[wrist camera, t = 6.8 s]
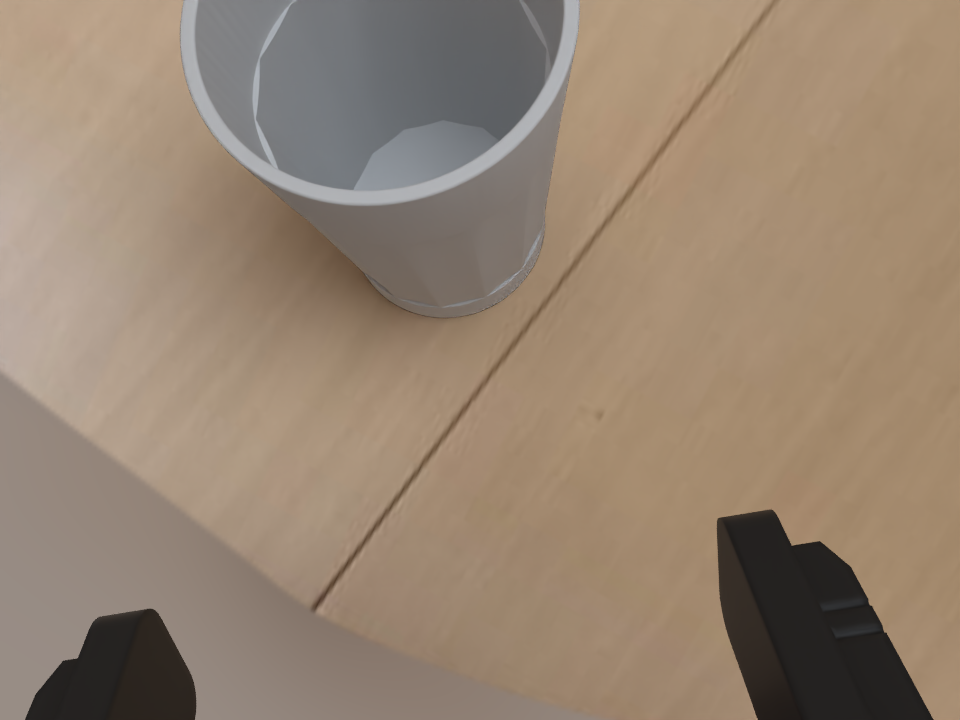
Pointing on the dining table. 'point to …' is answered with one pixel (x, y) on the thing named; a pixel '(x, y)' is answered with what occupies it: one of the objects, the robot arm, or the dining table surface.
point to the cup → (396, 128)
